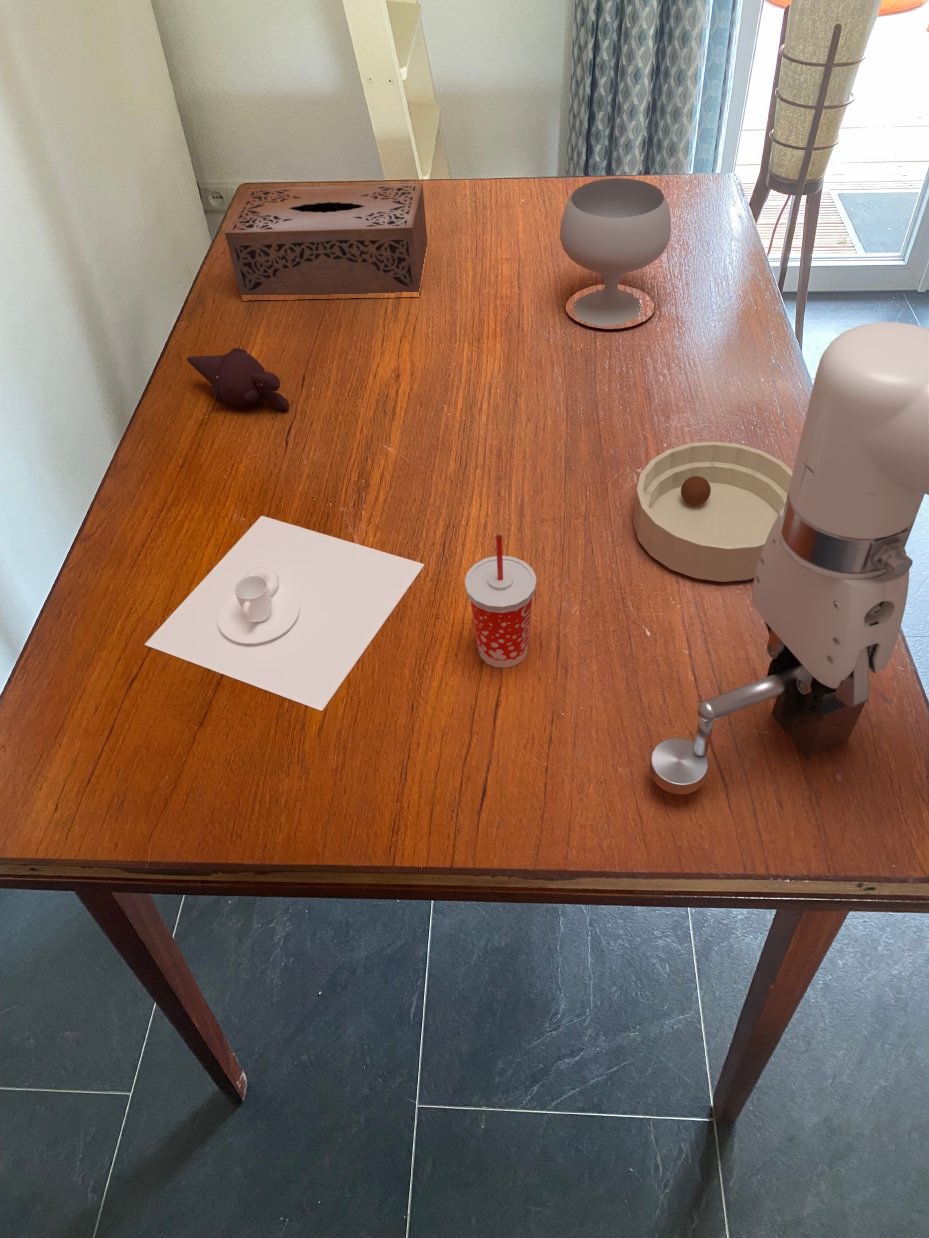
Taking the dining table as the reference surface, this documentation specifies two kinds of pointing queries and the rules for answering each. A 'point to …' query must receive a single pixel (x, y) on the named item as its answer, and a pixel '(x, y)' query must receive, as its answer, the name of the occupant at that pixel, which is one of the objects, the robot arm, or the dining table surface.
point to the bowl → (710, 509)
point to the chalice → (614, 241)
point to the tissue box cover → (329, 239)
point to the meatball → (695, 490)
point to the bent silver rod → (709, 733)
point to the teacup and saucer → (288, 610)
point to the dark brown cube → (820, 725)
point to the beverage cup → (501, 607)
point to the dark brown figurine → (239, 379)
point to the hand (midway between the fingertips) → (790, 699)
